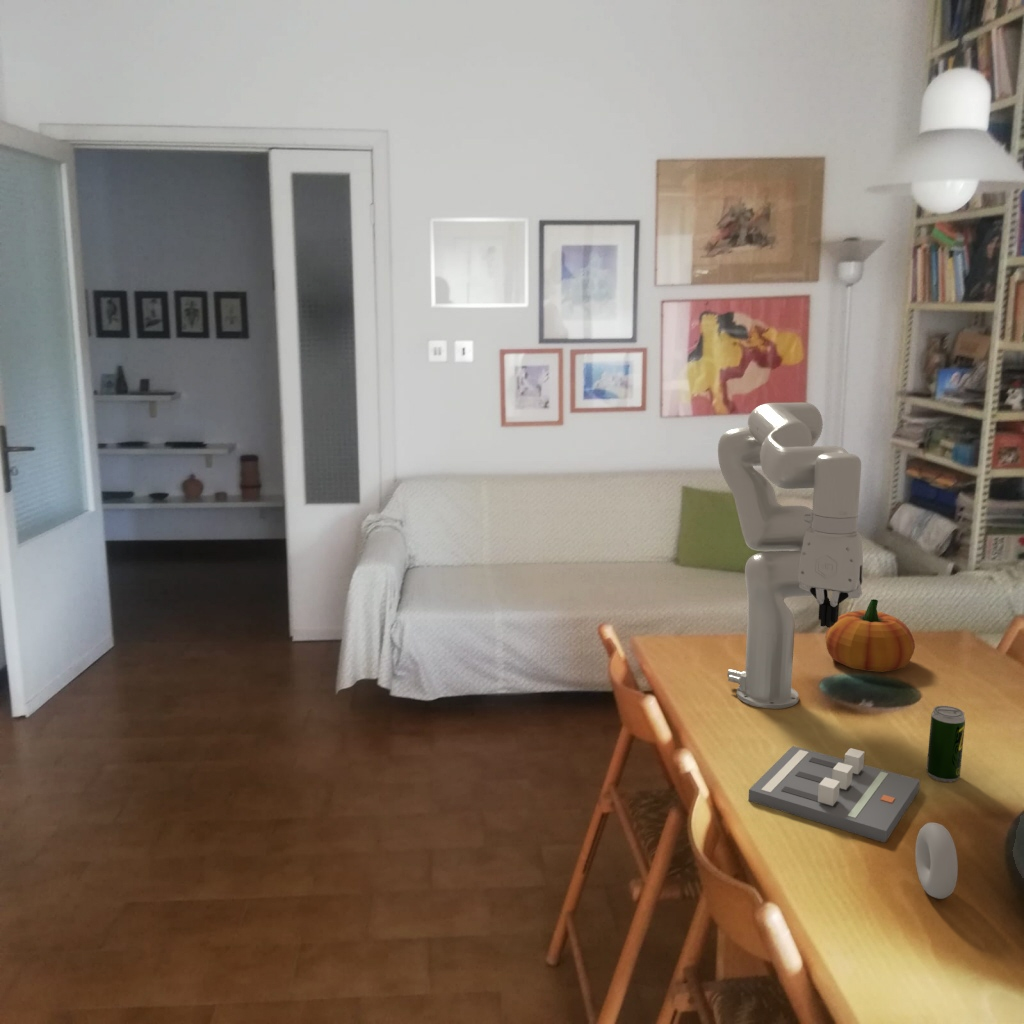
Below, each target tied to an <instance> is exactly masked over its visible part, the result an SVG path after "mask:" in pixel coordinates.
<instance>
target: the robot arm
mask: <svg viewBox="0 0 1024 1024" xmlns="http://www.w3.org/2000/svg"><path fill="white" fill-rule="evenodd" d="M822 417H823V416H822V415H821V412H820V410H819V408H817V406H815V405H814V404H812V403H809V402H800V401H799V402H798V401H797V402H769V403H768V402H767V403H762V404H761V405H758V406H757V407H755V408H754V409H753V410H752V411H751V412H750V414H749V415H748V419H747V426H744V427H743V426H742V427H735V428H733V429H729V430H727V431H725V432H724V433H723V434H722V435H721V436H720V437H719V440H718V444H717V457H718V463H719V467H720V468H719V469H720V471H721V474H722V476H723V479H724V480H725V483H726V484H727V486H728V488H729V490H730V492H731V495H732V496H733V499H734V502H735V507H736V512H737V516H738V521H739V525H740V529H741V533H742V536H743V540H744V542H745V544H746V546H747V547H748V548H749V549H750V550H753V551H757V552H758V553H755V554H752V556H750V557H749V558H748V559H747V561H746V563H745V567H744V578H745V585H746V592H747V593H746V595H747V620H746V621H747V623H746V624H747V625H746V626H747V627H746V646H745V648H746V650H745V666H744V667H745V668H744V670H743V671H739V670H736V669H731V668H729V669H728V671H727V675H726V676H727V680H728V682H731V683H737V684H738V685H739V686H738V687H737V688H736V696H737V698H738V699H739V700H740V701H741V702H743V703H745V704H747V705H749V706H752V707H755V708H756V707H757V708H762V709H770V710H772V709H773V710H776V709H778V710H779V709H785V708H786V709H787V708H790V707H793V706H795V705H796V704H797V703H798V702H799V697H800V695H799V693H798V691H797V690H795V688H792V684H793V683H792V682H793V681H792V679H793V663H794V661H793V660H794V648H795V646H794V644H795V630H796V629H795V627H796V621H795V616H794V613H793V611H792V610H791V609H790V607H789V606H788V605H787V604H786V603H785V599H787V598H788V599H789V598H804V597H805V598H807V597H814V599H816V603H817V604H818V605H819V606H818V620H819V621H820V627H824V628H825V627H826V628H827V629H828V628H830V627H832V626H833V625H834V624H835V623H836V622H837V621H838V617H839V610H840V604H841V603H842V602H844V600H847V599H859V598H860V597H861V596H862V595H863V592H862V584H863V578H864V555H863V543H862V536H861V533H860V532H858V519H859V505H860V491H861V490H860V489H861V475H862V461H861V459H860V457H859V456H858V455H856V454H853V453H849V452H848V451H847V450H846V449H845V448H843V447H841V446H833V445H831V446H830V445H828V446H827V445H826V446H824V445H823V446H816V445H815V444H816V443H817V442H818V440H819V439H820V437H821V435H822V430H823V425H824V424H823V418H822ZM814 445H815V446H814ZM754 467H761V470H762V472H763V474H762V473H760V472H759V471H757V470H756V469H755V468H754ZM764 475H765V476H764ZM771 483H772V484H773V485H774V486H776V487H778V488H781V489H787V490H793V489H794V490H795V489H813V491H812V492H813V494H812V496H813V497H812V508H810V507H808V506H804V505H781V504H779V503H778V501H777V498H776V493H775V489H774V487H773V486H772V484H771ZM830 591H831V593H832V594H831V597H829V592H830Z"/></svg>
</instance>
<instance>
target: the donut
mask: <svg viewBox="0 0 1024 1024" xmlns="http://www.w3.org/2000/svg"><path fill="white" fill-rule="evenodd" d="M914 853H915V865H916V866H915V867H916V871H917V876H918V880H919V882H920V884H921V887H922V888H923V890H924V892H925V893H926V894H927V895H929V896H930V897H931V898H932V897H933V898H935V899H939V900H942V899H943V900H944V899H945V898H947V897H949V896H951V894H952V893H953V892H954V890H955V888H956V885H957V881H958V872H959V871H958V869H959V867H958V865H959V864H958V855H957V849H956V845H955V842H954V840H953V837H952V835H951V833H950V832H949V830H948V829H947V828H946V827H945V826H944V825H943V824H940V823H937V822H927V823H925V824H923V826H922V827H921V828H920V829H919V831H918V834H917V837H916V842H915V851H914Z"/></svg>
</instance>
